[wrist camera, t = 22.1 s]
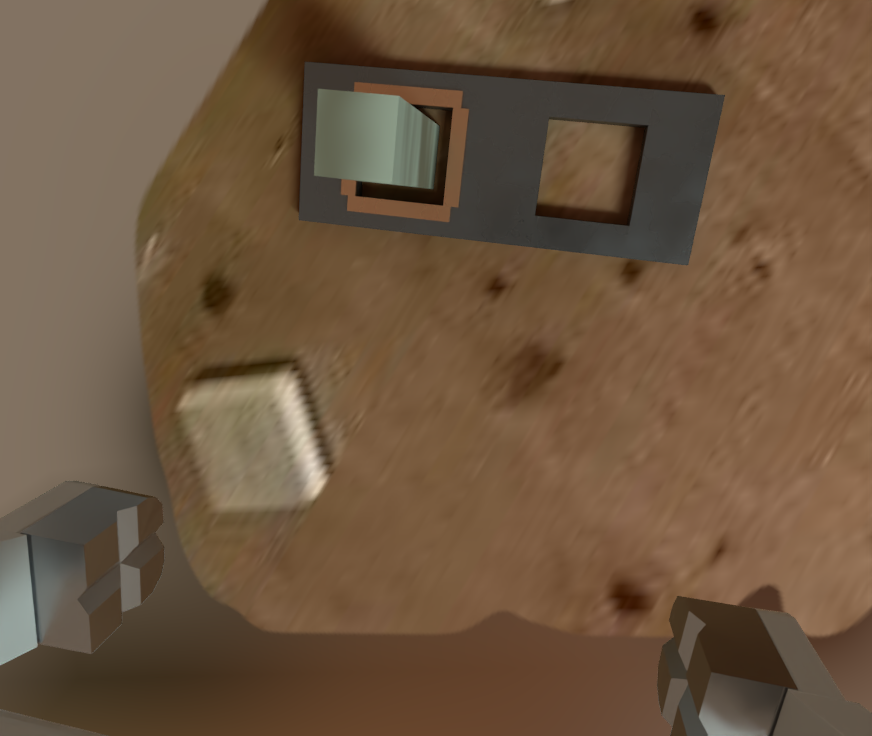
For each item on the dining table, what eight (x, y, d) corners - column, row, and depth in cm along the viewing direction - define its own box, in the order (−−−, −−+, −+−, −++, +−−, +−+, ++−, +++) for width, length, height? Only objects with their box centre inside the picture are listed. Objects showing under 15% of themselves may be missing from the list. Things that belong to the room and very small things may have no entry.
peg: (439, 126, 40) (399, 95, 28) (433, 189, 41) (391, 184, 30) (381, 120, 40) (317, 88, 29) (376, 183, 42) (313, 175, 30)
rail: (719, 98, 37) (726, 94, 35) (683, 263, 40) (688, 265, 38) (311, 65, 40) (303, 60, 39) (305, 219, 43) (297, 220, 42)
